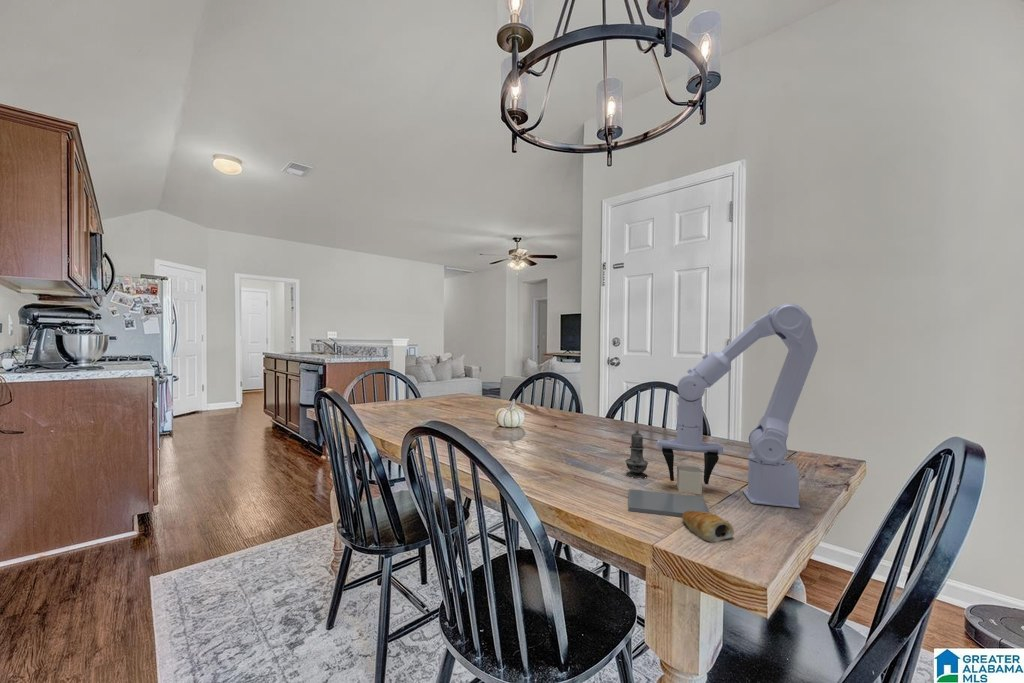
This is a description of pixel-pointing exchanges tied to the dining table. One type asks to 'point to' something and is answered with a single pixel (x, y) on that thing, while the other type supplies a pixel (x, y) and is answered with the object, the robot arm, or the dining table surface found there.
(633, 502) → the board
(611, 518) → the dining table surface
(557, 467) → the dining table surface
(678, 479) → the block
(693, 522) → the pastry
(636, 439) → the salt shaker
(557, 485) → the dining table surface
